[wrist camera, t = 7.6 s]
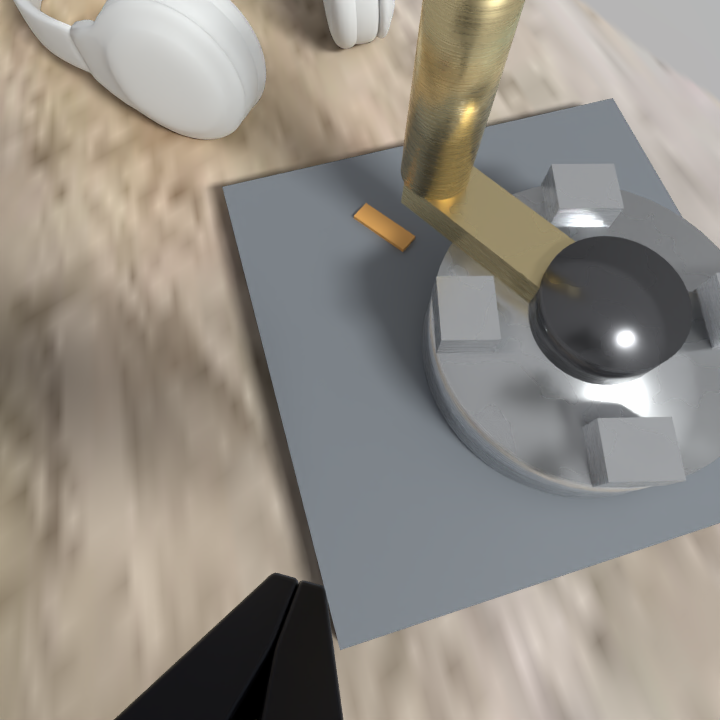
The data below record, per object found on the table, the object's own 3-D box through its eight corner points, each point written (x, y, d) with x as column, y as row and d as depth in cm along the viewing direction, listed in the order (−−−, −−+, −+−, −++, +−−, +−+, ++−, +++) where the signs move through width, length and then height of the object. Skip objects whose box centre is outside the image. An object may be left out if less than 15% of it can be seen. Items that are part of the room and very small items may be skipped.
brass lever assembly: (766, 346, 23) (1252, 93, 11) (603, 569, 20) (1023, 576, 7) (483, 141, 26) (601, -229, 14) (304, 303, 23) (255, 7, 11)
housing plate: (807, 488, 23) (842, 482, 21) (340, 644, 20) (340, 650, 19) (600, 120, 29) (614, 95, 28) (228, 206, 27) (221, 184, 25)
